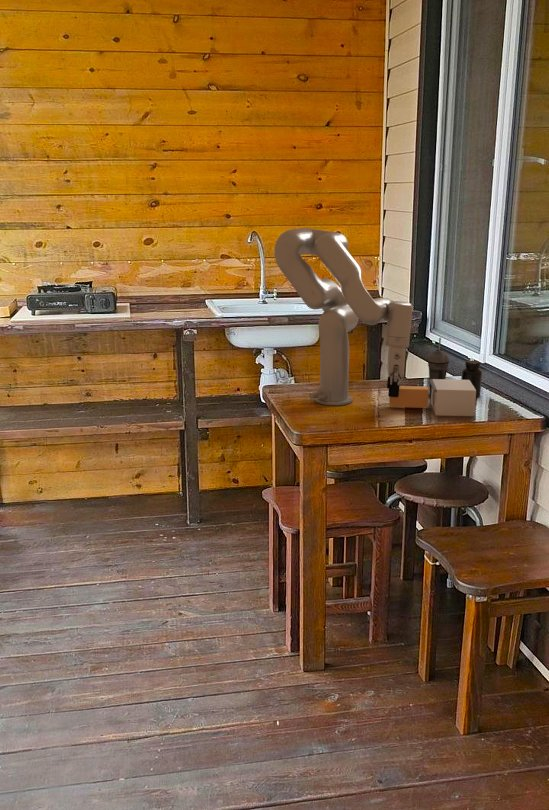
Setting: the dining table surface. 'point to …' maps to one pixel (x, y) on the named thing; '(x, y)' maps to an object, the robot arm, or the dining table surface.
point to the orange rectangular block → (410, 397)
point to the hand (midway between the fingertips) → (392, 392)
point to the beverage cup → (437, 365)
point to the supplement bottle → (473, 375)
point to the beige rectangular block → (453, 397)
